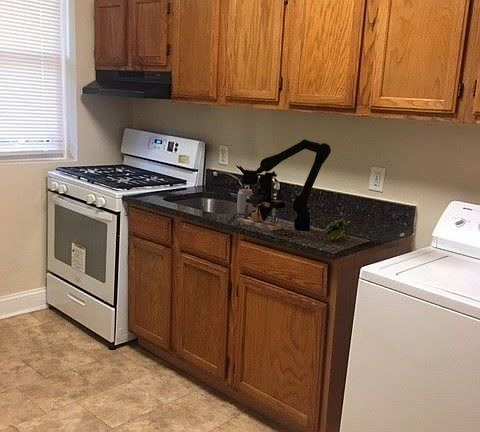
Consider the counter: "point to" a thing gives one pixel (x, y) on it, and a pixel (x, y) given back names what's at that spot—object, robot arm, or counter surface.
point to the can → (244, 200)
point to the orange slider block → (256, 215)
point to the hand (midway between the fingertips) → (264, 220)
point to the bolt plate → (259, 224)
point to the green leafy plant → (337, 228)
